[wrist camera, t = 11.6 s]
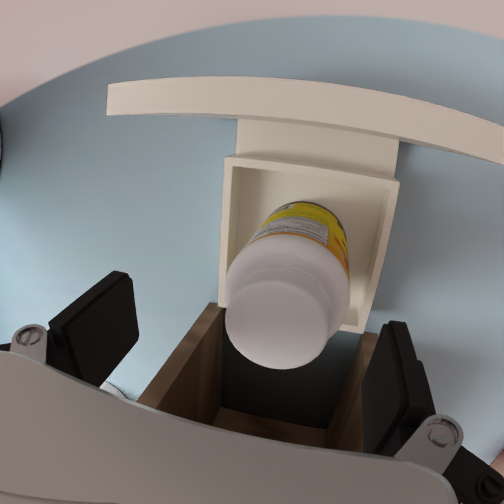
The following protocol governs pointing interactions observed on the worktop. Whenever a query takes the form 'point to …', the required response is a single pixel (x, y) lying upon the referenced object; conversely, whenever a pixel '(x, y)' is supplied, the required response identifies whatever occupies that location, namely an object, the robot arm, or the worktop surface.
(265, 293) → the supplement bottle
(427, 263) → the worktop surface
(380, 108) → the drawer
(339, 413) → the cabinet
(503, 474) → the decorative fruit
